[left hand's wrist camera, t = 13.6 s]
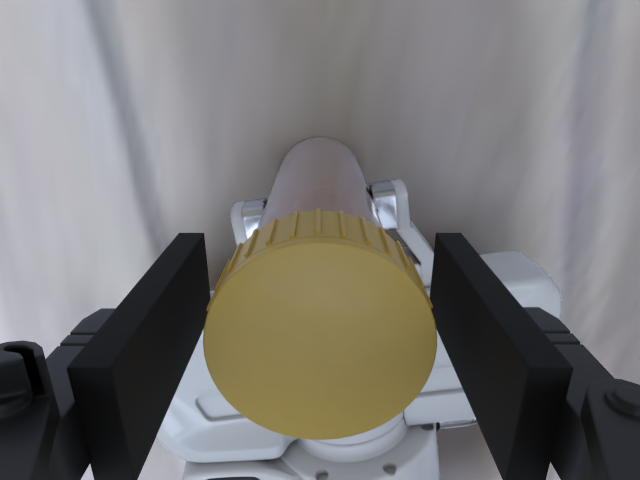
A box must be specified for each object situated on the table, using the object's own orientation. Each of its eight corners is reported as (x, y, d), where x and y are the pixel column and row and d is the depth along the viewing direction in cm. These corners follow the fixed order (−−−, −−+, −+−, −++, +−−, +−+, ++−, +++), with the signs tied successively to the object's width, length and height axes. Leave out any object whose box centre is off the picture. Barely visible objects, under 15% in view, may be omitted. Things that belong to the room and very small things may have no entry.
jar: (281, 133, 25) (221, 240, 10) (365, 140, 25) (435, 258, 10) (277, 213, 26) (220, 411, 11) (356, 220, 27) (402, 423, 12)
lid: (220, 198, 11) (197, 228, 9) (437, 216, 11) (464, 250, 9) (218, 376, 13) (199, 434, 11) (403, 390, 13) (419, 450, 11)
